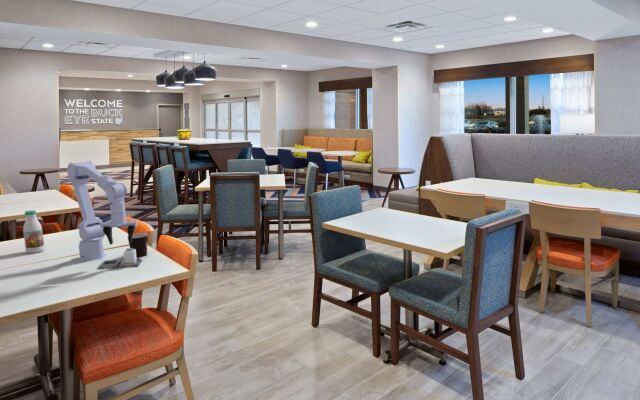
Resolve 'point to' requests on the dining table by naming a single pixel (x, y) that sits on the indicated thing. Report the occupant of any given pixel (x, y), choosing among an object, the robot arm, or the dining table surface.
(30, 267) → the dining table surface
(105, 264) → the panel
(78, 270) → the dining table surface
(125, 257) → the plug
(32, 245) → the milk bottle
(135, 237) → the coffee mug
